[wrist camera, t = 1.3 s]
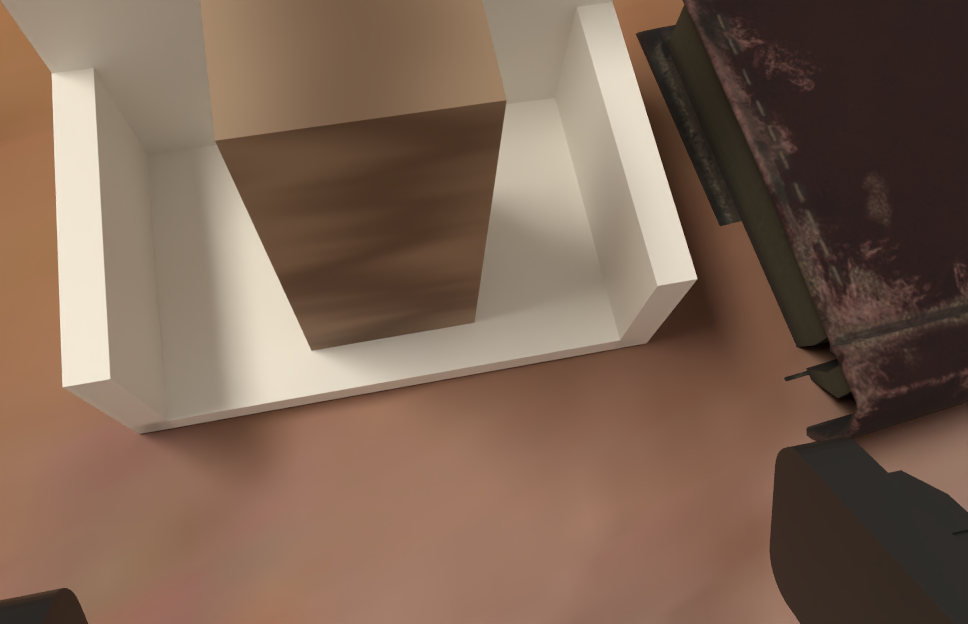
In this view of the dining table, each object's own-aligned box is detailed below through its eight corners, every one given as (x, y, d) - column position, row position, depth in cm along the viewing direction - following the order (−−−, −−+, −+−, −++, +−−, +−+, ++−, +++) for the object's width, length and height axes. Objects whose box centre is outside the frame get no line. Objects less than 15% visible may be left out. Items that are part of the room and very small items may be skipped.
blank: (311, 350, 27) (214, 140, 15) (292, 216, 29) (192, -71, 17) (474, 322, 28) (506, 99, 16) (447, 193, 30) (457, -100, 18)
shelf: (139, 433, 27) (-69, 307, 16) (120, 145, 31) (-60, -126, 19) (646, 343, 29) (780, 174, 18) (574, 82, 33) (648, -195, 22)
